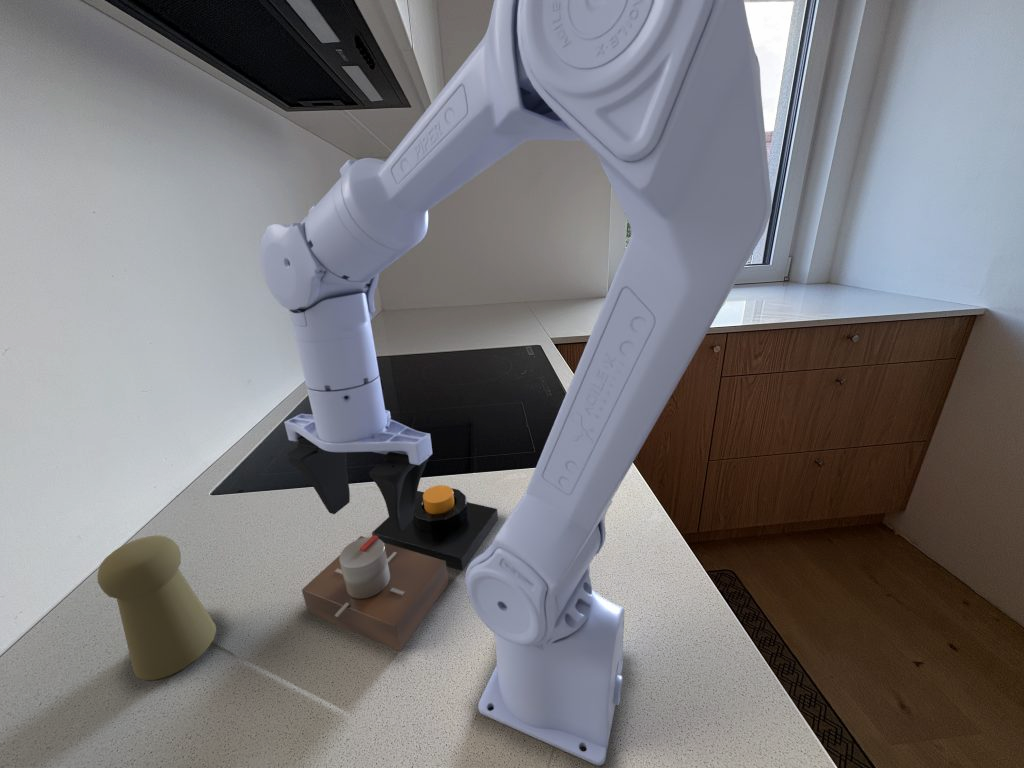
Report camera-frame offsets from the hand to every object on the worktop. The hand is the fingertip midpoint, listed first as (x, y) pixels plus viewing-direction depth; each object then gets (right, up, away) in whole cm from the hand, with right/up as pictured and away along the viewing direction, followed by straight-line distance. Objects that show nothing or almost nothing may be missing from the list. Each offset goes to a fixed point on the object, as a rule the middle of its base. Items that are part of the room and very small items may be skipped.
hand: (370, 515), depth 40 cm
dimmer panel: (0, -9, +2) cm, 9 cm away
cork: (-17, -12, -1) cm, 21 cm away
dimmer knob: (0, -7, +1) cm, 7 cm away
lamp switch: (+4, -6, +11) cm, 13 cm away
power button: (+5, -2, +11) cm, 12 cm away
